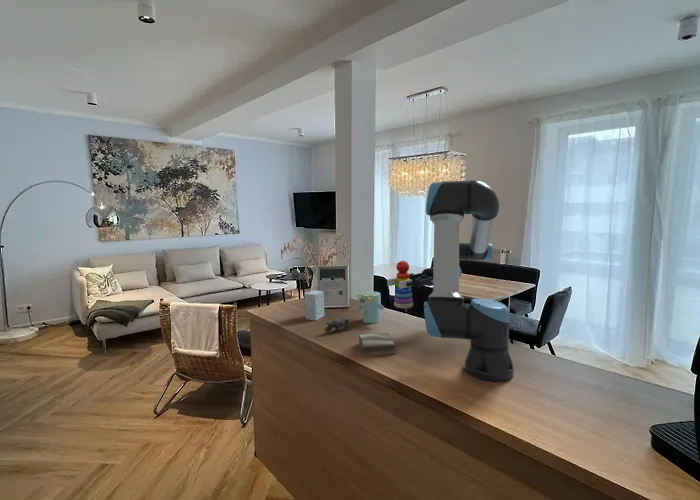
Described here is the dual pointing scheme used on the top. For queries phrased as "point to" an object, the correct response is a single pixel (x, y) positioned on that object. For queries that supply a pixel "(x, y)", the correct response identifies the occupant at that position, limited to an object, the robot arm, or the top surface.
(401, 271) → the stacking toy
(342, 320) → the rhino figurine
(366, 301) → the character sculpture
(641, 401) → the top surface
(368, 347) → the pedestal
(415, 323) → the top surface
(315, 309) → the small box
